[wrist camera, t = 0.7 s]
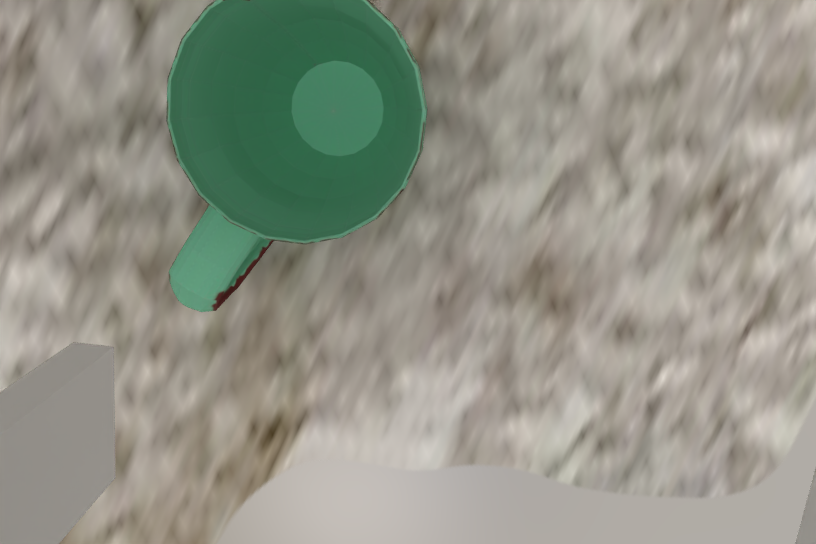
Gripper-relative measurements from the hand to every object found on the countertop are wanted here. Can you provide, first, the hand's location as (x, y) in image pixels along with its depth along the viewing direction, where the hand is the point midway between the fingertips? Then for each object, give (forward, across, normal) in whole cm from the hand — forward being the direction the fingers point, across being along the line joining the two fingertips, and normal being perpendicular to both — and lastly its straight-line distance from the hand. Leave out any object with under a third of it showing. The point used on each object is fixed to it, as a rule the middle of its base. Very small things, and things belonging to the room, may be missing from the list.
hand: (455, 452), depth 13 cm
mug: (+25, -8, +3) cm, 26 cm away
